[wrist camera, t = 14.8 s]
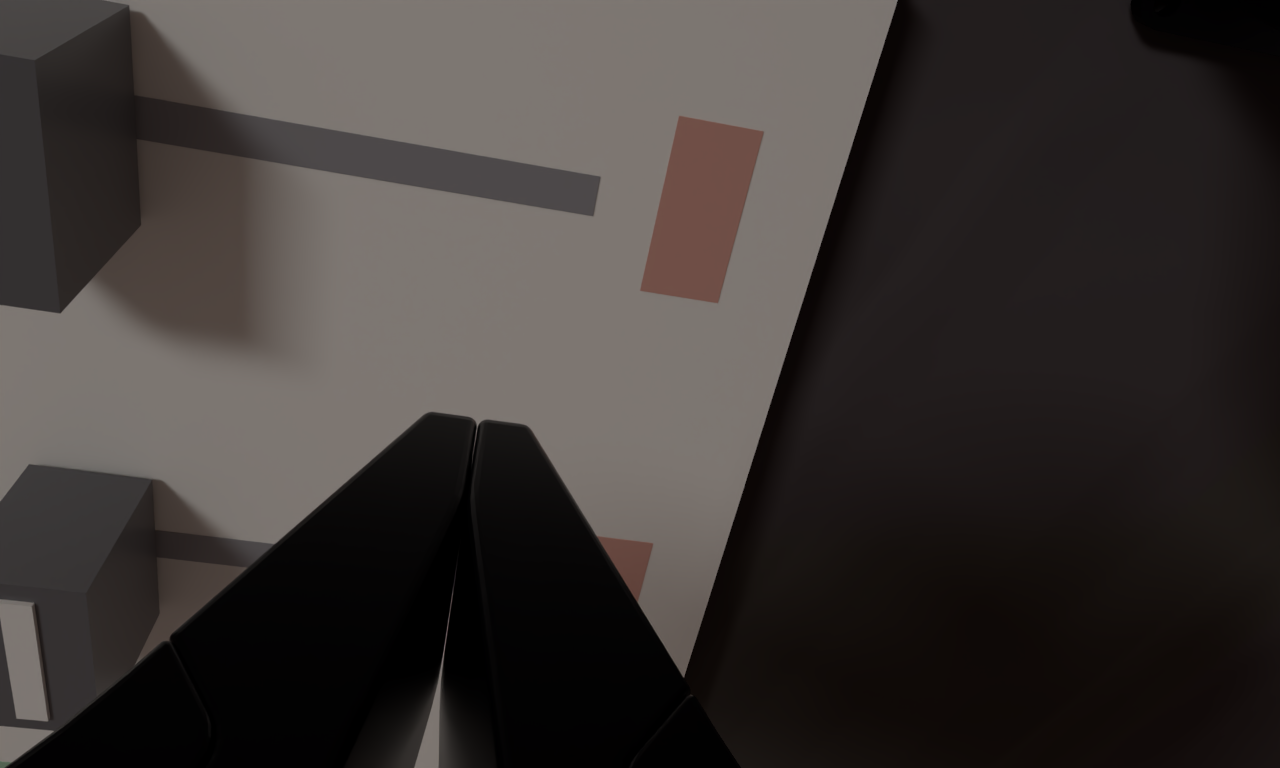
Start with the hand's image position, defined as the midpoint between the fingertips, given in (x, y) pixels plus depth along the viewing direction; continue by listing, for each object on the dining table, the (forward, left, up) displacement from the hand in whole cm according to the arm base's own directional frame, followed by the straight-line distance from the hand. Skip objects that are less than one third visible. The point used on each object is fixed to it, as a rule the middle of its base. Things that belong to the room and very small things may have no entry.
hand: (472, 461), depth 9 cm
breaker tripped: (+8, +12, -11) cm, 18 cm away
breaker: (+8, +2, -11) cm, 14 cm away
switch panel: (+4, +12, -13) cm, 18 cm away
